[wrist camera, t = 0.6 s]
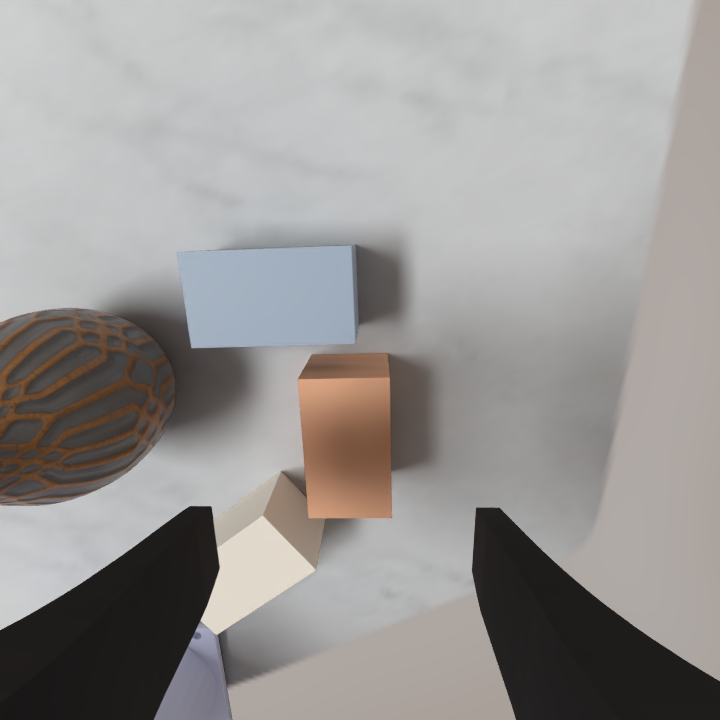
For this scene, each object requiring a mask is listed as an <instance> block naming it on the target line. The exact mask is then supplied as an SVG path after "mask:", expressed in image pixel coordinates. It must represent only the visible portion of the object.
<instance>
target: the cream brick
mask: <svg viewBox="0 0 720 720" xmlns="http://www.w3.org/2000/svg"><path fill="white" fill-rule="evenodd" d="M325 519H326V518H309V517H308V504H307V498H306V497H305V496H304V495H303V494H302V493H301V492H300V490H299V489H298V488H297V487H296V486H295V485H294V484H293V483H292V482H291V481H290V480H289V479H288V478H287V477H286V476H285V475H284V474H283V472H282V471H280V472H279V473H278V474H276V475H275V476H274V477H272V478H271V479H269V480H268V481H267V482H265V483H264V484H263V485H261V486H260V487H258V488H257V489H256V490H254V491H253V492H252V493H250V494H249V495H248V496H246V497H245V498H243V499H242V500H241V501H239V502H238V503H237V504H235V505H234V506H232V507H231V508H230V509H228V510H227V511H226V512H224V513H223V514H222V515H220V516H219V517H217V518H216V519H215V520H213V521H214V529H215V536H216V543H217V550H218V558H219V565H220V569H219V573H218V576H217V579H216V582H215V585H214V588H213V591H212V594H211V597H210V599H209V602H208V605H207V607H206V610H205V612H204V614H203V616H202V618H201V620H200V621H201V622H202V623H203V624H205V625H206V626H207V627H208V628H209V629H210V630H211V631H212V632H213V633H214V634H216V635H217V634H219V633H220V632H222V631H224V630H225V629H227V628H228V627H230V626H231V625H233V624H234V623H236V622H237V621H239V620H240V619H242V618H243V617H245V616H247V615H248V614H250V613H251V612H253V611H254V610H256V609H257V608H259V607H260V606H262V605H263V604H265V603H266V602H268V601H270V600H271V599H273V598H274V597H276V596H277V595H279V594H280V593H282V592H283V591H285V590H286V589H288V588H290V587H291V586H293V585H294V584H296V583H297V582H299V581H300V580H302V579H303V578H305V577H306V576H308V575H309V574H311V573H313V572H314V571H316V568H317V563H318V557H319V552H320V546H321V541H322V535H323V530H324V524H325Z"/></svg>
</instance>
